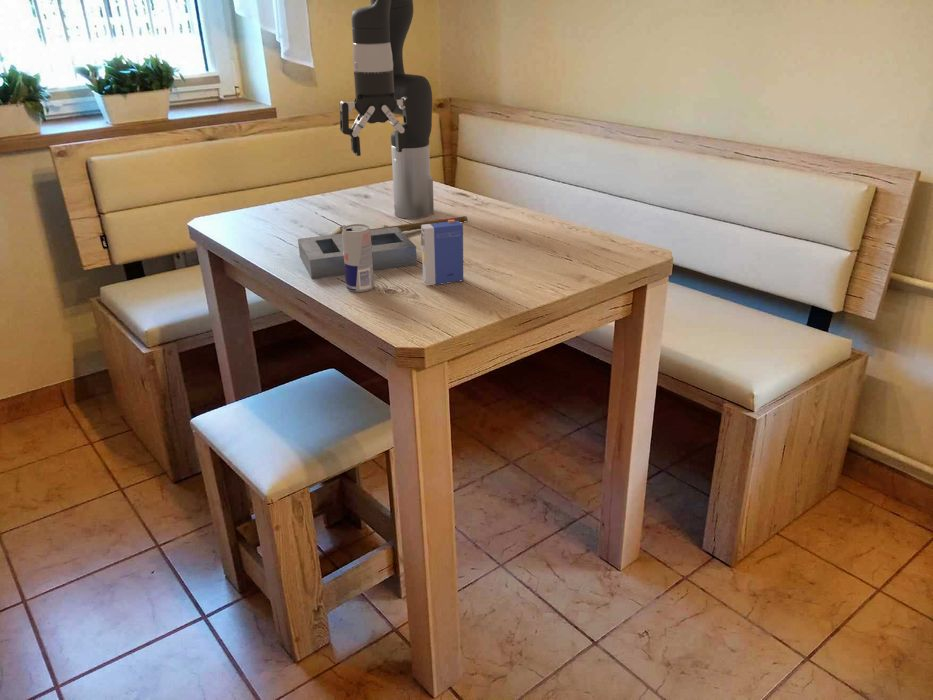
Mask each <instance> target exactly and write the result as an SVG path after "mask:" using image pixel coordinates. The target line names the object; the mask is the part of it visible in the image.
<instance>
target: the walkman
mask: <svg viewBox="0 0 933 700" xmlns="http://www.w3.org/2000/svg"><path fill="white" fill-rule="evenodd" d="M420 230H421V232H420V245H421V259H422V260H421V261H422V265H421V266H422V282H423V281H424V282H423V284H425V285H426V286H425V285H424V286H425V287H428V286H427V285H433V284H440V285H442V284H441V283H447V282H454V281H460V280H463V281H464V224H463V223H460V222H459V221H455V220H448V222H442V223H433V224H424V225H421V229H420ZM454 283H455V282H454ZM447 284H448V283H447ZM433 286H434V285H433Z"/></svg>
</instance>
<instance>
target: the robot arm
mask: <svg viewBox="0 0 933 700" xmlns="http://www.w3.org/2000/svg"><path fill="white" fill-rule="evenodd" d="M413 17H414V2H413V0H370V5H369V6H365V7H359V8H357V9H354V10H353V11H352V13H351V28H352V29H351V31H352V45H353V46H352V65H353V66H352V67H353V79H354V94H355V98H354V101H345V100H341V101H340V102H339V131H340V132H341V133H343V134H344V135H348V136H349V138H350V145H351V146H350V147H351V151H352V153H353V154H355V156H357V157H360V156H361V155H362V154H361V139H360V136H359V134H360V132H361V131H362V130H363V128H364V127H365V126H366V125H367V123H368V124H375V123H381V124H385V123H386V122H389V123H390V124H391V126H392V127H393V128H394V130H395V131H393V132H392V133H391V135H390V146H391V148H390V149H391V165H392V166H391V168H392V184H393V187H392V188H393V209H394V215H395V216H396V217H398V218H401V219H423V218H426V217H428V216H432V215H434V214H435V209H434V206H435V205H434V202H435V201H434V179H433V178H434V177H433V176H432V175H431V163H430V162H431V161H430V160H431V159H430V158H431V155H430V137H431V134H432V126H433V125H432V123H433V121H432V120H433V92H432V86H431V84H430V82H429V80H428V79H427V78H426V77H425V76H423V75H419V74H410V73H405V67H404V57H403V52H404V50H403V49H404V43H405V40H406V39H407V38H406V37H407V35H408V33H409V29H410V27H411V24H412V21H413ZM353 109H354V110H356V112H357V113H358V115H357V116H356V118H355V120H354V122H353V124H352V126H351V127H350V126H349V125H350V121H349V120H350V118H349V117H350V116H349V115H350V114H351V113H352V112H353ZM395 115H400V116H402V118H403V121H402V122H403V123H400V121H399V119H398V118H397V117H396V116H395Z"/></svg>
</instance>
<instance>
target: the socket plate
mask: <svg viewBox="0 0 933 700" xmlns="http://www.w3.org/2000/svg"><path fill="white" fill-rule="evenodd" d="M370 232H371V246H372V261H373V271H381V270H387V269H394V268H400V267H401V268H402V267H407V266H415V265H418V264H417V263H418V261H417V245H415V244H414V243H413V241H412V240H411V239H410V238H409V237H408V236H406V235H405V233H404V231H403V232H402V231H401V230H400V229H399V228H398V227H393V228H384V229H376V230H370ZM297 244H298V251H299V252H298V253H299V258H300V259H301V261H302V263H303V265H304V267H305V269H306V271H307V272H308V273H307V274H309V276H310V278H311V280H314V279H320V278H328V277H336V276H342V275H343V276H345V264H344V253H343V241H342V234H334V235H331V234H329V235H328V234H327V235H319V236H310V237H302V238H298V239H297Z"/></svg>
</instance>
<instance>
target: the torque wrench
mask: <svg viewBox="0 0 933 700" xmlns="http://www.w3.org/2000/svg"><path fill="white" fill-rule="evenodd" d="M448 220H455V221H459V222H463V223H465V222H464V221H467V222H468V216H466V215H462V216H457V217H448V218H443V219H435V220H428V221H420V222H413V223H412V222H411V223H406V224H398V225H390V226H384V227H376V228H369V229H370V230H376V229H384V228H393V227H398V228H399V229H400V230H401V231H402V232H403V233H404V232H406V231H407V232H408V231H414V230H415V231H417V230H421V225H424V224H433V223H442V222H448ZM345 226H347V225H341V226H339V228H338V229H336V230H335V231H334V232H332V233H331V234H330V235H334V234H342V231H343V227H345Z"/></svg>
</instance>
